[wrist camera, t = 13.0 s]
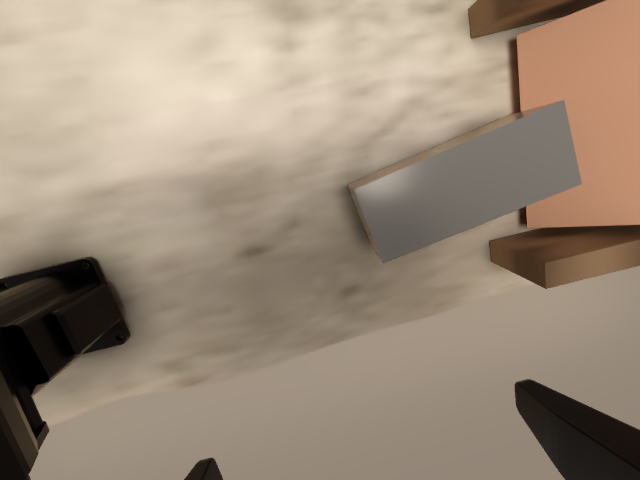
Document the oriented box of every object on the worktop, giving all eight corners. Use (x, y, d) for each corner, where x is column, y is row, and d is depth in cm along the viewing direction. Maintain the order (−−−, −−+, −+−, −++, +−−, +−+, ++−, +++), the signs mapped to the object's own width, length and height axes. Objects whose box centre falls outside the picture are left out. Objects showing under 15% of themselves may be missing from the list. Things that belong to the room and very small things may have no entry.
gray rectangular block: (525, 180, 20) (370, 243, 21) (508, 115, 19) (346, 184, 20) (582, 184, 15) (383, 263, 16) (563, 99, 14) (353, 189, 15)
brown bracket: (491, 261, 22) (546, 288, 17) (468, 8, 18) (532, -51, 13) (647, 222, 22) (747, 238, 17) (661, -39, 18) (798, -116, 13)
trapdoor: (532, 212, 23) (527, 228, 20) (524, 44, 20) (516, 35, 17) (748, 199, 17) (784, 220, 14) (783, -52, 14) (839, -91, 11)
